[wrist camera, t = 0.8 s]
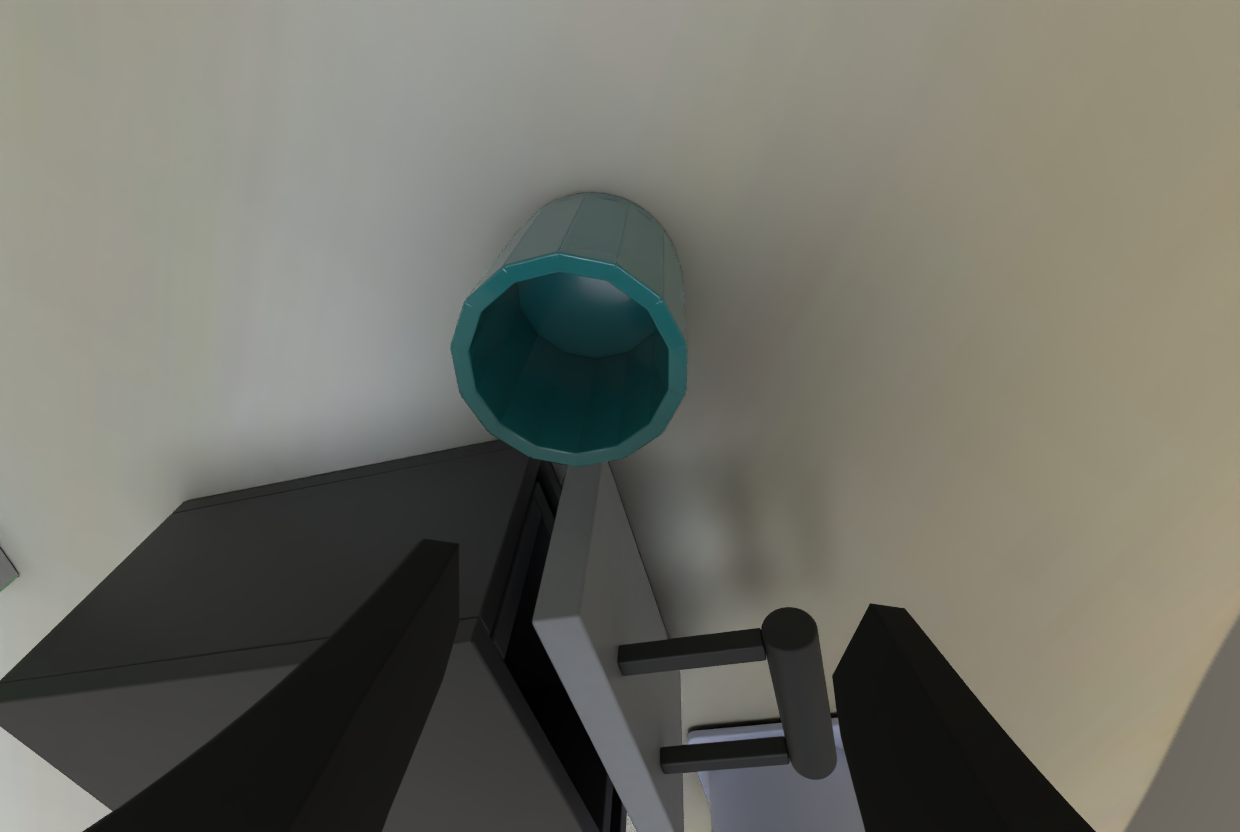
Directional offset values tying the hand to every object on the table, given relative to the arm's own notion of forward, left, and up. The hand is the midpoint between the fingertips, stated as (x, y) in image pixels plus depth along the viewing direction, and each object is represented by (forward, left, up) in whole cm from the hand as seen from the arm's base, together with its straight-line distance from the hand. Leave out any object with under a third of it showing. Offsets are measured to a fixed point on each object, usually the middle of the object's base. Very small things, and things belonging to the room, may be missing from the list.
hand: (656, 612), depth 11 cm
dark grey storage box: (-8, +12, -10) cm, 17 cm away
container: (+3, +1, -10) cm, 10 cm away
